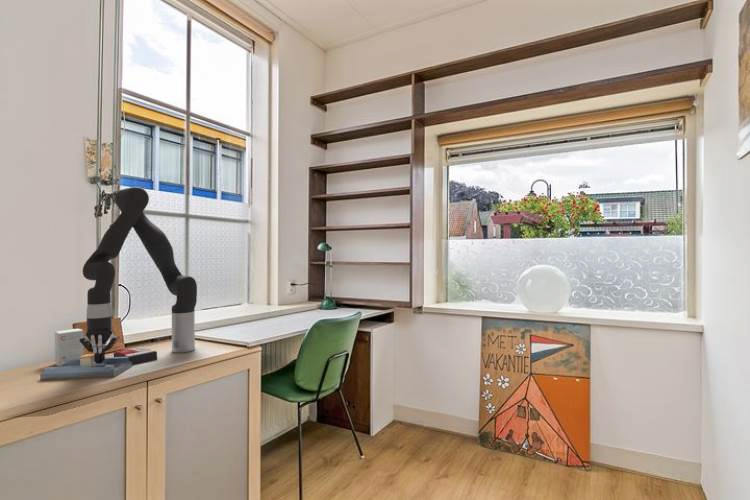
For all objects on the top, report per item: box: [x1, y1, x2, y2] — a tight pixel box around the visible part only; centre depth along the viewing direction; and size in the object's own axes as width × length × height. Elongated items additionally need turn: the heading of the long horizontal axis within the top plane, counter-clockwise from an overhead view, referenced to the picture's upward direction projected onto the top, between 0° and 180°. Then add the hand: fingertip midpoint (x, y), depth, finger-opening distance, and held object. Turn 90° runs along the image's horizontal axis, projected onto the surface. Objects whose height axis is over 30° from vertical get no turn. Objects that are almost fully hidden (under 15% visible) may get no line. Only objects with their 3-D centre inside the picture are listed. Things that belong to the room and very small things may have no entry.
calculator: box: [113, 346, 158, 366], centre depth 163 cm, size 11×4×15 cm
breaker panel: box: [39, 356, 133, 381], centre depth 146 cm, size 13×24×4 cm, turn 96°
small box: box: [54, 328, 85, 367], centre depth 158 cm, size 8×6×13 cm
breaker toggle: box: [80, 353, 96, 366], centre depth 146 cm, size 4×4×4 cm
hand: (99, 362), depth 146 cm, fingers closed
